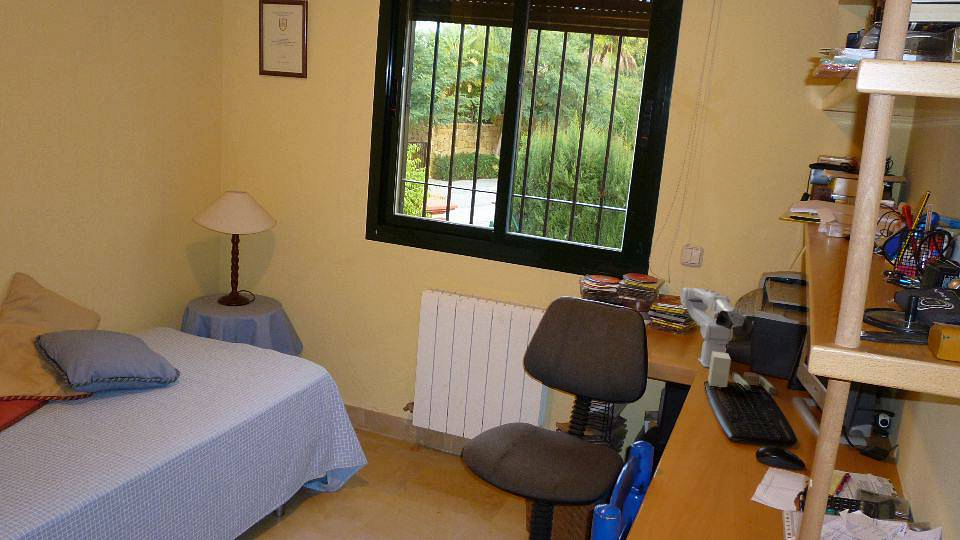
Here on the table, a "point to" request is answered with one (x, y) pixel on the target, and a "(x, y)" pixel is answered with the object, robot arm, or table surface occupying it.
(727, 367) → the small box
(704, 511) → the table surface
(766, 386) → the rail track
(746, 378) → the walnut block
